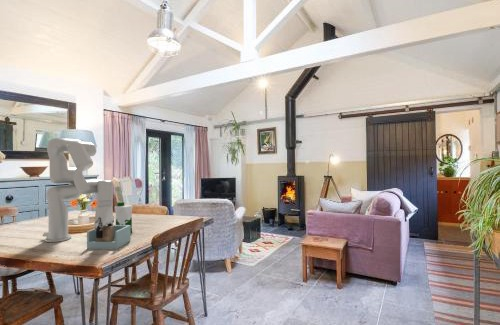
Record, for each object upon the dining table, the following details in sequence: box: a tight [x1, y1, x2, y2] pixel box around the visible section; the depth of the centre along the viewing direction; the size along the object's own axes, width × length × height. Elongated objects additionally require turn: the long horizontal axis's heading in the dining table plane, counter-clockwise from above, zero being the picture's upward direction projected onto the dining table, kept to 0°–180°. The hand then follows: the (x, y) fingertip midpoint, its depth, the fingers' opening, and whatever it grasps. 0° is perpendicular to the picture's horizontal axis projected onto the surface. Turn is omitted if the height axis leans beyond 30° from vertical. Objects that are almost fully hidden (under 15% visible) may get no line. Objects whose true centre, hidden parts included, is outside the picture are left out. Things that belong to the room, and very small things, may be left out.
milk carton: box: [113, 201, 134, 234], centre depth 170 cm, size 9×9×20 cm
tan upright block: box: [96, 226, 114, 242], centre depth 143 cm, size 8×3×10 cm, turn 89°
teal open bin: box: [86, 224, 132, 250], centre depth 148 cm, size 16×15×9 cm
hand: (104, 235), depth 143 cm, fingers open, 9 cm apart
